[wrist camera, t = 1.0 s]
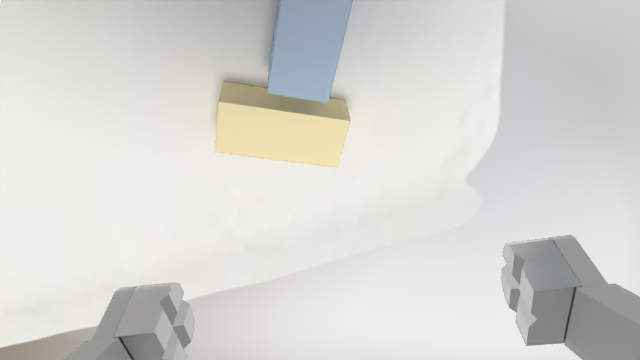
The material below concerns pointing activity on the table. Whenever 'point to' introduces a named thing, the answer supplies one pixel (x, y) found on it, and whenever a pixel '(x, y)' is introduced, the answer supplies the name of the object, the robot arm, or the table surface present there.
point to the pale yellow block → (280, 126)
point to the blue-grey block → (307, 47)
